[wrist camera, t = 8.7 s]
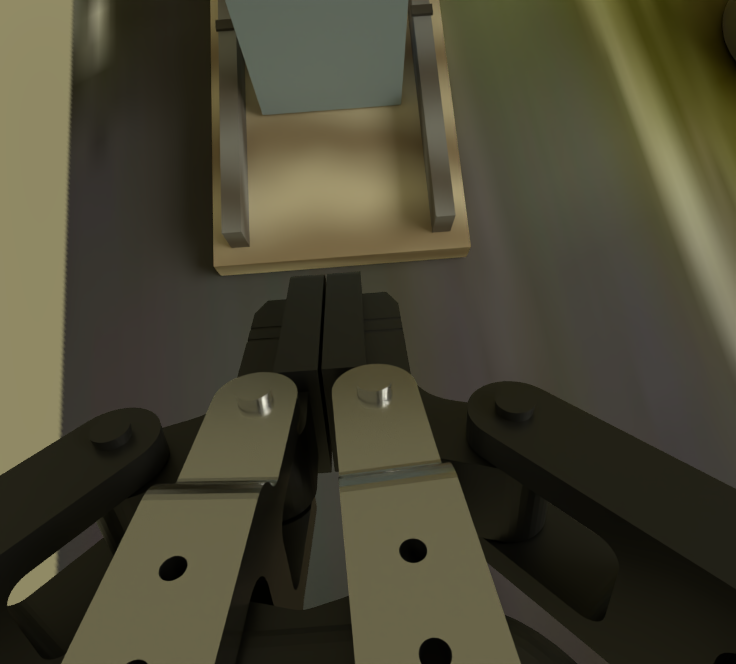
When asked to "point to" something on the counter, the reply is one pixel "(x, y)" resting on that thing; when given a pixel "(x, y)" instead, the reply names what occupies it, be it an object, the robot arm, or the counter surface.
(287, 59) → the grey rectangular block
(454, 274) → the counter surface
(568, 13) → the counter surface
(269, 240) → the beige wooden tray
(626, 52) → the counter surface
